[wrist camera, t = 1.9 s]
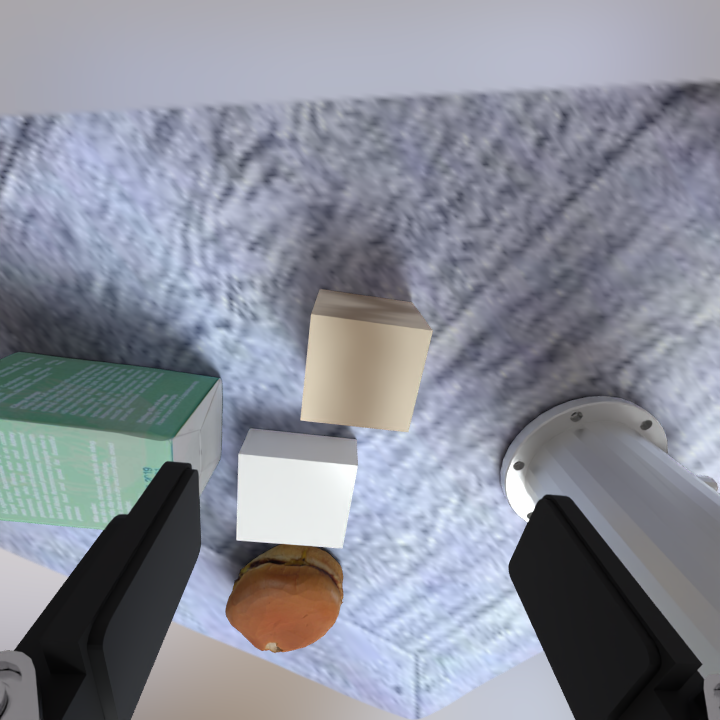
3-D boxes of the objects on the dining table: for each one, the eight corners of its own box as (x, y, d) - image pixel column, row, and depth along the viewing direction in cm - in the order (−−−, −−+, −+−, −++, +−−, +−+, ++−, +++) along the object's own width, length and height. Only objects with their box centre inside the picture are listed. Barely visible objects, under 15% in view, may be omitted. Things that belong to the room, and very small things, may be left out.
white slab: (356, 439, 27) (357, 465, 24) (342, 517, 30) (342, 548, 27) (249, 428, 26) (238, 453, 23) (246, 509, 29) (236, 540, 26)
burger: (341, 537, 31) (340, 589, 27) (343, 604, 35) (342, 660, 30) (228, 539, 31) (209, 593, 26) (242, 608, 34) (227, 664, 30)
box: (12, 347, 23) (-129, 407, 16) (223, 372, 24) (175, 437, 17) (35, 439, 26) (-77, 523, 19) (223, 457, 27) (182, 541, 20)
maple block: (411, 301, 23) (432, 330, 17) (394, 383, 25) (408, 432, 20) (319, 288, 22) (311, 314, 17) (310, 373, 25) (300, 420, 19)
